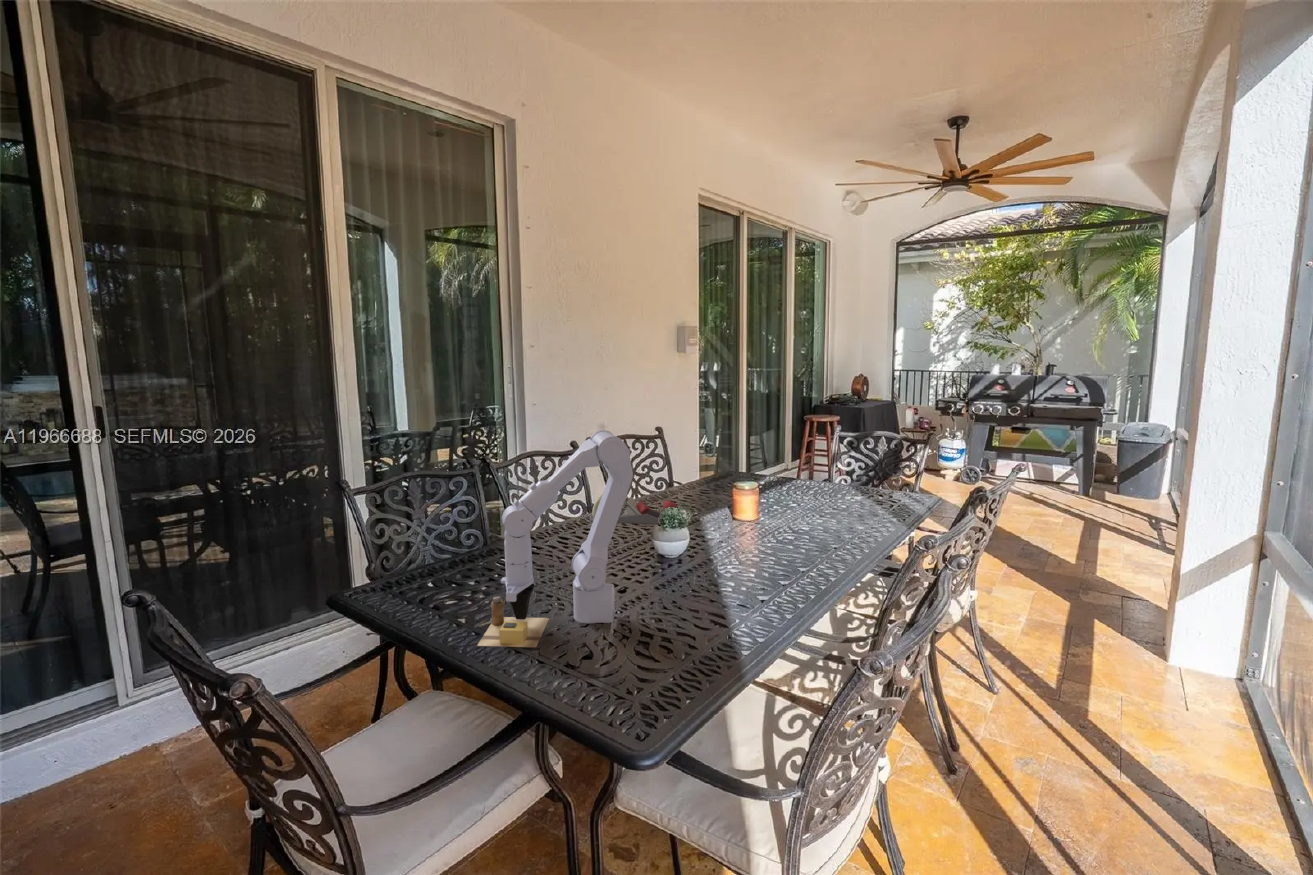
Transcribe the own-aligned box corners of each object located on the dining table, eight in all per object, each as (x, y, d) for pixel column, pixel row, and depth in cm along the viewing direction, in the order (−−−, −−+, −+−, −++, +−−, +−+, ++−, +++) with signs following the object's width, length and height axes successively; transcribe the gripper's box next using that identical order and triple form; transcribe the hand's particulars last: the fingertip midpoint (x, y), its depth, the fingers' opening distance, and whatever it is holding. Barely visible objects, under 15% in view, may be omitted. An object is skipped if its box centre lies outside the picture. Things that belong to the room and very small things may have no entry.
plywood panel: (549, 622, 141) (549, 618, 140) (536, 652, 128) (536, 647, 128) (495, 621, 141) (495, 616, 141) (477, 651, 128) (476, 645, 128)
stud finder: (528, 634, 133) (527, 620, 132) (523, 644, 129) (522, 629, 128) (505, 634, 133) (504, 620, 132) (499, 643, 129) (499, 629, 128)
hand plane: (592, 516, 221) (591, 475, 219) (677, 519, 218) (678, 478, 215) (587, 522, 215) (587, 480, 212) (675, 525, 211) (676, 483, 208)
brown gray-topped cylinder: (505, 620, 139) (504, 595, 138) (502, 626, 137) (501, 600, 136) (494, 620, 139) (492, 595, 138) (490, 625, 137) (489, 600, 136)
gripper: (509, 548, 141) (512, 603, 144) (490, 573, 127) (493, 633, 129) (540, 548, 141) (542, 603, 143) (523, 573, 127) (526, 634, 129)
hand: (521, 618), depth 136 cm, fingers closed
